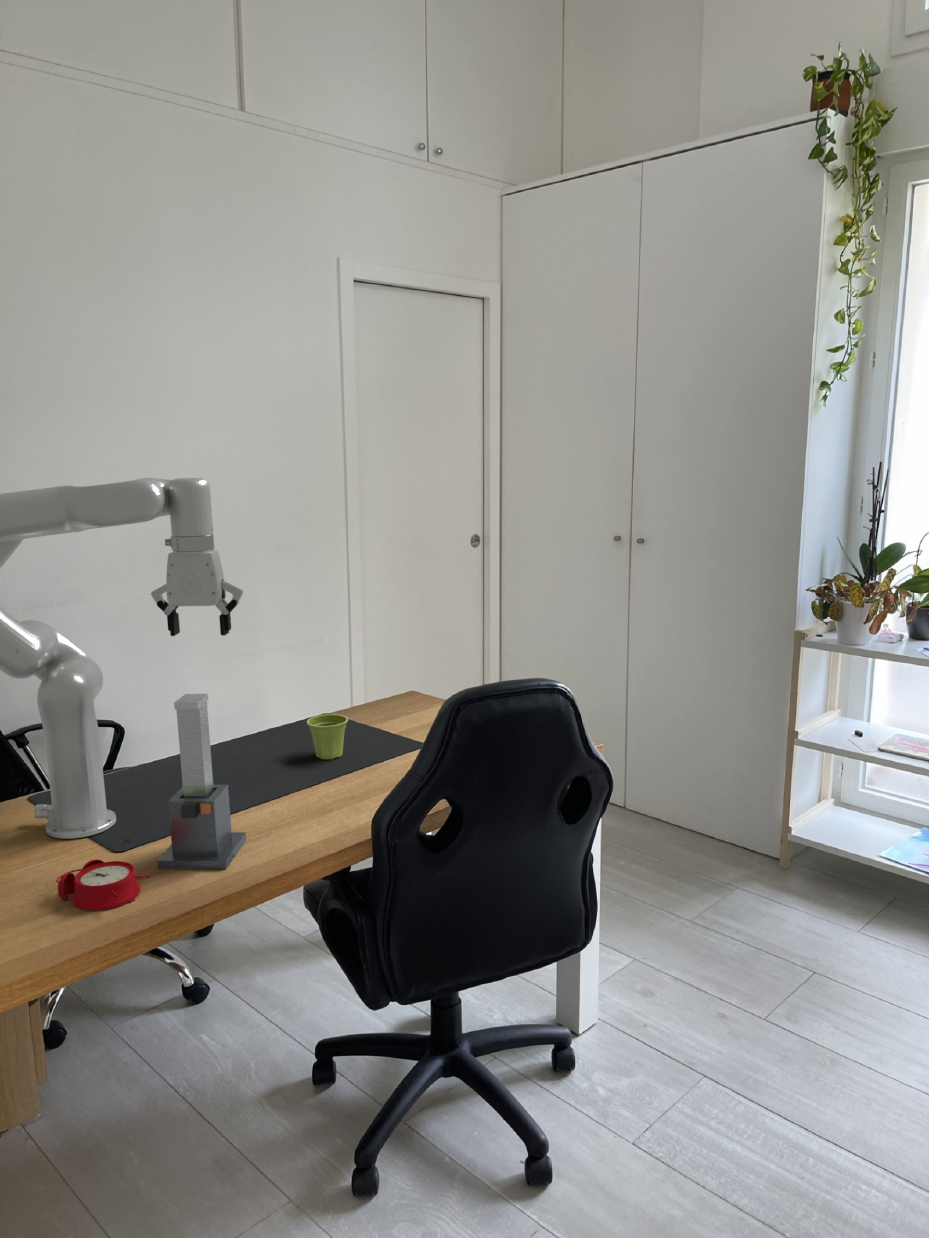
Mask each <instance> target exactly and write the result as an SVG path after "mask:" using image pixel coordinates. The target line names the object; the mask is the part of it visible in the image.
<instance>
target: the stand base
mask: <svg viewBox="0 0 929 1238" xmlns="http://www.w3.org/2000/svg"><path fill="white" fill-rule="evenodd" d="M213 788H214V793H213V794H212V795H211V796H210V797H209V798H184V796H183V786H181V787H180V788H179V790H178V791H177V792H175V794H174V795H172V797H171V798H169V800H168V801H167V804H168V814H169V817H168V818H169V827H170V838H171V844H170V845H169V846H168V847H167V848H166V850H164V851H163V853H162V855H161V856H160V857H159V858H158V859H157V861H156V862H157V863H156V865H157V869H158V870H227V869H228V868H229V867H230V865H231V863H232V862H233V860H234V859H235V857H236V856H237V855H238V854H239V851H240V850H241V848H242V847H243V846H244V844H245V842H246V841H247V833H246V831H245V832H244V831H238V832H237V831H234V832H232V824H231V823H232V822H231V820H232V819H231V809H230V805H231V804H230V796H229V795H230V794H229V792H230V791H229V784H213Z"/></svg>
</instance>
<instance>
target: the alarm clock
mask: <svg viewBox="0 0 929 1238" xmlns="http://www.w3.org/2000/svg"><path fill="white" fill-rule="evenodd" d="M74 872H78V873H76V875H75V873H74ZM150 877H151V876H150V875H142V876H141V875H136V869H135V867H134V865H133V864H131V863H130V862H127V861H121V860H118V861H117V860H112V861H103V860H101V859H91V860H89V861H88V862H86V863H85V864H84V865H83V866H82V868H80V869H75V870H74V869H73V870H71V871H68V872H65V873H64V874H62V875H60V876H59V877H57V879H56V880H55V881H56V883H57V886H56V887H57V894H58V896H59V898H60V899H61V900H62V901H63V900H64V901H67V899H66V897H68V896H69V895H72V898H71V902H72V904H73V906H74V907H76V908H78V909H80V910H84V911H103V910H109V909H113V908H116V907H117V908H118V907H120V906H122V905H125V904H128V903H131V902H132V903H133V902H135V901H136V899H135V898H136V897H137V896H139V894H140V893H141V889H142V888H141V887H142V886H141V884H140V882H139V881H138V879H143V878H147V879H149V878H150ZM67 895H68V896H67Z"/></svg>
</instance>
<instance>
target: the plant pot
mask: <svg viewBox="0 0 929 1238" xmlns="http://www.w3.org/2000/svg"><path fill="white" fill-rule="evenodd" d="M348 722H349V718H348V717H347V716H345V715H342V714H335V713H333V714H331V713H330V714H320V715H316V716H312V717H310V718H308V720H306V724H307V726H308V727H309V731H310V732H311V738H312V742H313V747H314V753H315V756H316V758H319V759H320V760H324V759H325V760H329V759H330V760H334V759H335V758H340V757H342V755H343V751H344V741H345V739H344V738H345V733H346V732H345V731H346V730H345V729H346V727H347V723H348Z"/></svg>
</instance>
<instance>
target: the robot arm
mask: <svg viewBox="0 0 929 1238" xmlns="http://www.w3.org/2000/svg"><path fill="white" fill-rule="evenodd" d="M212 510H213V509H212V496H211V485H210V482H209V481H208V480H207V479H205V478H202V477H183V478H182V477H181V478H173V479H164V478H154V477H142V478H138V479H133V480H126V481H125V480H124V481H120V482H113V483H111V482H110V483H104V484H95V485H86V486H84V485H83V486H76V485H59V486H52V487H45V488H44V487H43V488H37V489H27V490H20V491H13V492H2V493H0V569H1V568H2V567H3V566H4V564H5V563H6V562H7V561H8V559H9V558H10V557H11V556H12V555H13V554H14V552H15V551H16V550H17V549H18V547H19V546H20V544H21V543H22V542H23V541H24V540H28V539H30V538H31V539H32V538H33V539H34V538H39V537H46V536H47V537H48V536H56V535H63V534H71V533H80V532H83V531H88V530H93V529H103V528H111V527H117V526H118V527H119V526H124V525H125V526H126V525H132V524H139V523H146V522H150V521H153V520H155V519H156V518H160V517H166V516H169V518H170V530H171V531H170V532H171V536H170V538H166V539H164V546H165V547H170V548H171V551H172V552H169V553H168V555H167V561H166V562H167V563H166V582H165V583H166V584H163V585H162V586H160V587H158V588H156V589H154V590H152V591H151V593H150V595H151V596H152V599H153V600H154V601H155V603H156V606H157V607H158V608H159V609H160V610H161V611H162V612H163V614H164V615H165V616H166V620H167V622H166V623H167V630H168V632H169V633H170V637H175V636H176V635H179V634H180V632H181V630H180V629H181V628H180V617H179V616H180V615H179V612H177V609H178V608H179V607H210V606H211V607H212V606H214V607H216V608H217V609H218V611H219V612H220V613H221V614H219V616H218V617H219V629H220V630H219V631H220V636H227V635H228V634H229V633H230V631H231V629H232V618H231V612H233V610H234V609H235V608H236V607H237V606H238V604H239V603H240V600H241V598H242V596H243V594H244V591H243V589H240V587H237V586H235V585H233V584H231V583H229V582H227V581H225V576H224V571H223V564H222V561H221V557H220V554H219V550H215V540H214V539H215V538H214V524H213V523H214V522H213V511H212ZM226 592H227V593H230V594H231V595H232V597H231V600H230V601H229V602H227V600H226V595H227V593H226ZM165 593H166V600H167V601H166V600H165V599H164V597H163V594H165ZM0 672H2V673H4V674H5V675H7V676H9V677H11V678H13V679H18V680H19V679H21V680H22V679H28V678H31V677H33V676H35V677H36V678H37V679H39V680H40V681H41V682H40V684H39V687H38V690H37V694H36V695H37V697H36V699H37V700H36V702H37V703H36V704H37V709H38V714H39V716H40V717H39V718H40V722H41V726H42V731H43V739H44V745H45V746H44V747H45V753H46V761H47V762H46V763H47V771H48V773H47V774H48V782H49V790H50V798H51V799H50V800H51V804H47V803H46V804H36V805H35V806H34V809H33V811H34V816H33V817H34V818H35V819H47V823H46V824H45V833H46V834H47V835H48V836H50V837H52V838H55V839H63V840H64V839H66V840H68V839H69V840H70V839H71V840H72V839H80V838H85V837H91V836H95V835H98V834H100V833H103V832H105V831H107V830H109V829H111V828H112V826H114V825H115V824H116V822H117V815H116V812H115V811H113V810H111V809H107V800H106V799H107V798H106V789H105V779H104V768H103V759H102V749H101V747H102V746H101V741H100V740H101V739H100V733H99V725H98V720H97V715H96V710H95V700H96V698H97V696H98V695H99V693H100V692H101V690H102V688H103V684H104V676H103V671H102V669H101V668H100V666H99V665H98V663H97V662H96V661H95V660H94V659H92V657H90V656H89V655H88V654H87V653H85V651H83V650H81V648H80V647H78V646H77V645H76V644H75V643H74V642H72V641H71V640H69V639H68V638H67V637H65V636H64V635H63V634H62V633H61V632H60V631H58V630H57V629H56V628H54V627H53V626H51V625H49V624H47V623H45V622H43V621H40V620H35V619H29V620H23V621H19V620H17V619H16V618H15V617H13V616H12V615H11V614H9V613H8V612H7V611H6V610H5V609H3V607H1V606H0Z"/></svg>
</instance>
